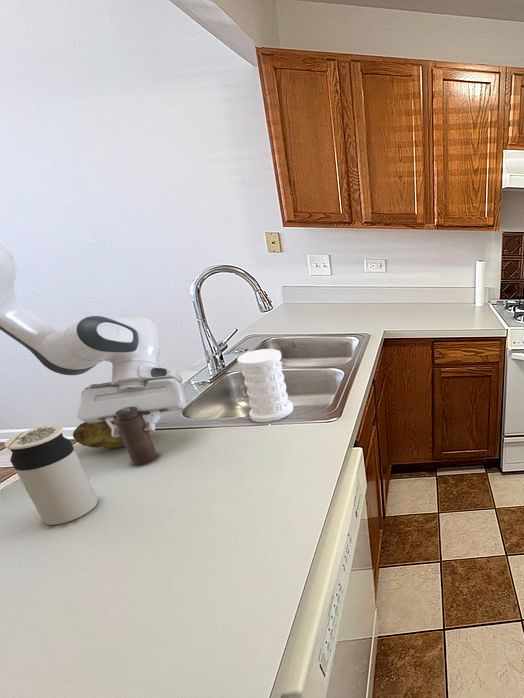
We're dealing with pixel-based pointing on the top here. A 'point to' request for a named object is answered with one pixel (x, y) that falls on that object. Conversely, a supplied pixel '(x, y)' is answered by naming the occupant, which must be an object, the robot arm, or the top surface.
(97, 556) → the top surface
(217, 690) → the top surface
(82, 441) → the green pickle
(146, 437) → the pepper mill
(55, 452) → the travel mug
